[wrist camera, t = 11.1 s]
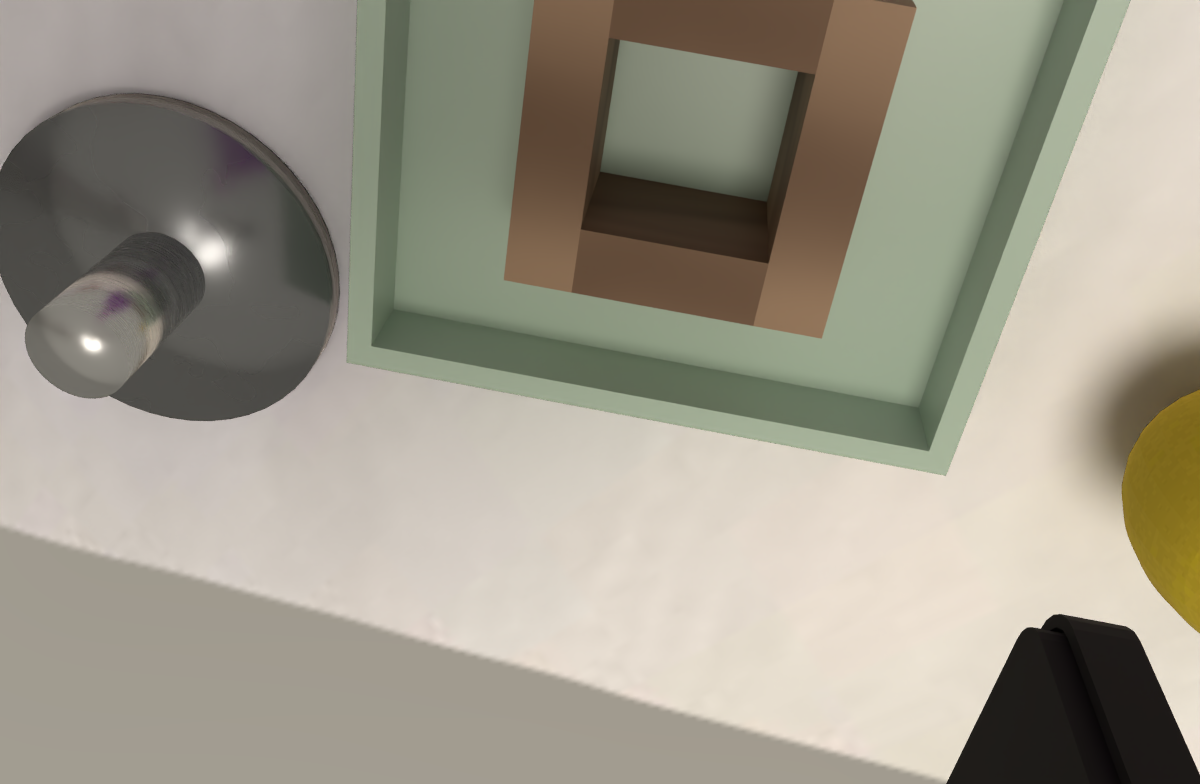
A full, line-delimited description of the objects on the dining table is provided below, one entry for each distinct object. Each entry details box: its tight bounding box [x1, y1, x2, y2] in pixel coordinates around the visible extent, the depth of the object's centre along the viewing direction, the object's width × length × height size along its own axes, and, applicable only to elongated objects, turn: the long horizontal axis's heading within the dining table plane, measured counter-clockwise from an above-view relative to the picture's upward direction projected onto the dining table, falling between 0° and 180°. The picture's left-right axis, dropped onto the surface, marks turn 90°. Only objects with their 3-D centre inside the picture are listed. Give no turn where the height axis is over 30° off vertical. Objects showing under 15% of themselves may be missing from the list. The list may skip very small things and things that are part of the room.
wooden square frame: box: [504, 0, 917, 339], centre depth 24 cm, size 7×7×4 cm
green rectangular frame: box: [347, 0, 1131, 476], centre depth 24 cm, size 15×15×2 cm
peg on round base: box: [0, 94, 340, 421], centre depth 27 cm, size 9×9×5 cm
